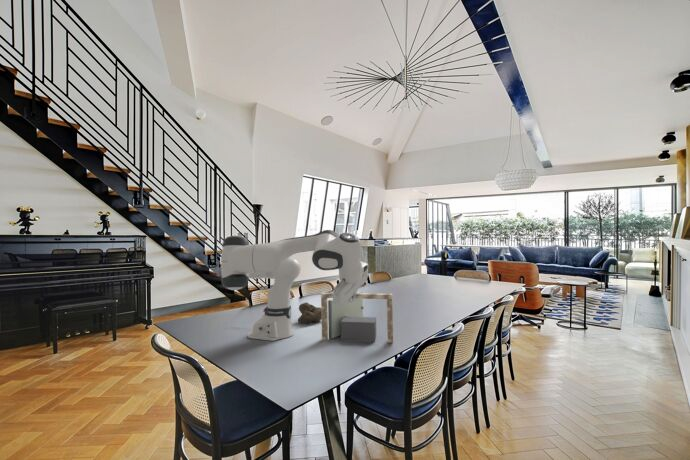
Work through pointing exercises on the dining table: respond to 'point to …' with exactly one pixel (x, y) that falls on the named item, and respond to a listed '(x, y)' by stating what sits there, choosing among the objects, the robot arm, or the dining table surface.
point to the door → (342, 314)
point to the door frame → (358, 296)
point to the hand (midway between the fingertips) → (351, 300)
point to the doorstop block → (358, 329)
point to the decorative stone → (309, 313)
